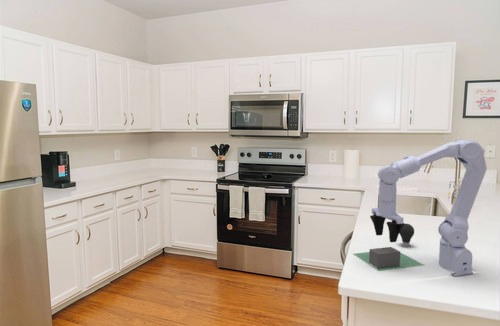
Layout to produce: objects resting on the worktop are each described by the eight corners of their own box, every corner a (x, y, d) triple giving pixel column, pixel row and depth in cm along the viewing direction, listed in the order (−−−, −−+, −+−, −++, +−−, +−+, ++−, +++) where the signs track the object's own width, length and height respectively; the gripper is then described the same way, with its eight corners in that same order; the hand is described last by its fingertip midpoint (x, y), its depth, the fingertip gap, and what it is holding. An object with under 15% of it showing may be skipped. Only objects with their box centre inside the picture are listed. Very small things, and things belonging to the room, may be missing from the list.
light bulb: (409, 245, 141) (410, 221, 140) (416, 250, 136) (417, 225, 134) (395, 245, 141) (396, 222, 140) (402, 250, 135) (403, 226, 134)
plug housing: (399, 265, 118) (400, 251, 118) (377, 268, 116) (378, 254, 116) (390, 260, 123) (391, 246, 123) (369, 262, 121) (369, 249, 120)
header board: (424, 267, 119) (424, 256, 119) (378, 273, 115) (379, 262, 114) (393, 251, 135) (394, 241, 134) (352, 256, 130) (353, 246, 130)
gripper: (364, 197, 126) (363, 233, 128) (391, 205, 112) (389, 246, 114) (381, 195, 128) (380, 231, 130) (409, 204, 114) (407, 244, 116)
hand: (385, 238), depth 122 cm, fingers open, 7 cm apart
